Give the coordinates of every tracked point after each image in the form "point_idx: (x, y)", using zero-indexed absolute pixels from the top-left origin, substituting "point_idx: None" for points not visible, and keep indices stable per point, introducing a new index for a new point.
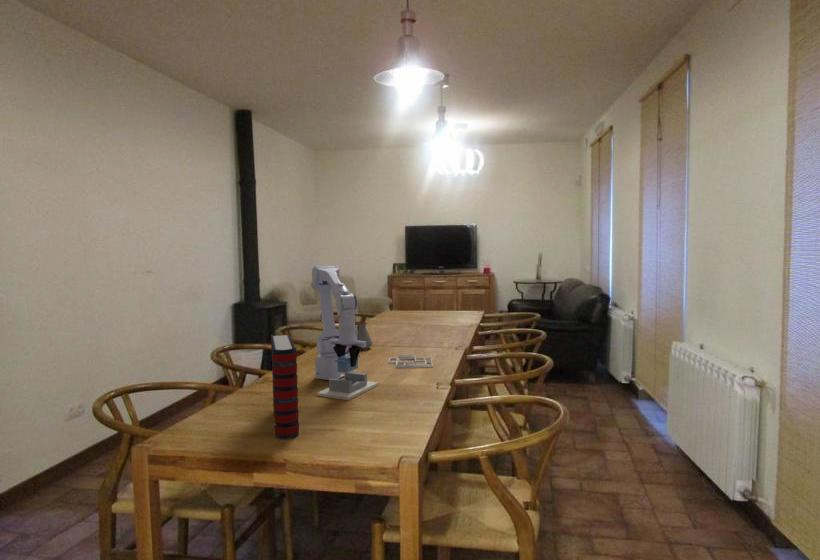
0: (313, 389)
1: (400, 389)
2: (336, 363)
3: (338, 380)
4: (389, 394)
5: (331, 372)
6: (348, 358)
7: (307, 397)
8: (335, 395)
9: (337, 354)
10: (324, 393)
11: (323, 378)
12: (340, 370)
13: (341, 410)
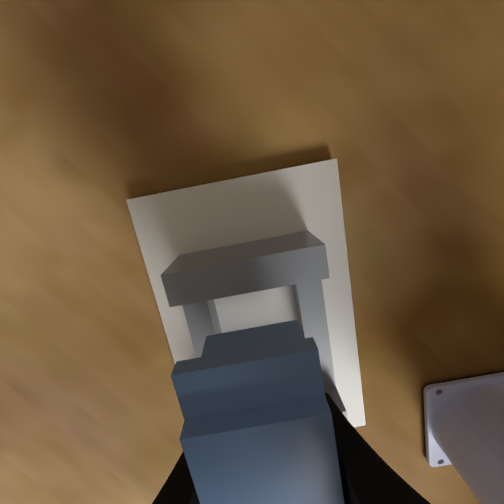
0: (427, 232)
1: (77, 445)
2: (498, 494)
3: (248, 262)
4: (56, 372)
5: (476, 421)
6: (189, 461)
7: (358, 104)
8: (212, 183)
9: (394, 486)
10: (292, 175)
11: (491, 377)
12: (270, 329)
13: (22, 37)
